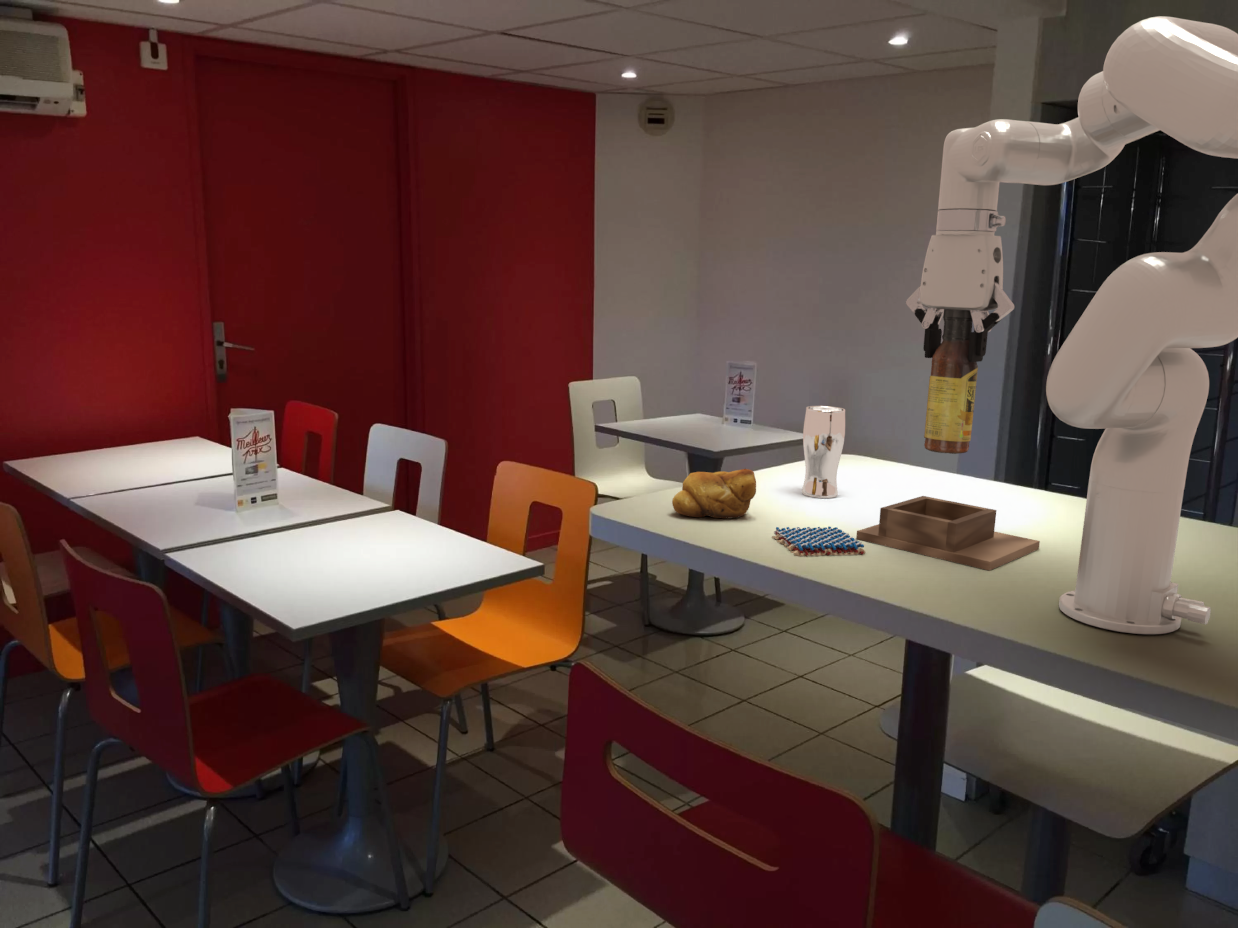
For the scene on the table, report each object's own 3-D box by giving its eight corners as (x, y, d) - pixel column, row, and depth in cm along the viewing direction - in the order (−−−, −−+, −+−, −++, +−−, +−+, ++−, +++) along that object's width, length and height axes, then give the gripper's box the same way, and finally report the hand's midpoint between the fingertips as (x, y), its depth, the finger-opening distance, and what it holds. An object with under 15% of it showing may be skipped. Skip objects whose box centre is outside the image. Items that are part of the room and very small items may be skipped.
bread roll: (676, 522, 153) (678, 470, 151) (664, 507, 162) (666, 458, 161) (759, 522, 155) (762, 470, 153) (742, 506, 164) (745, 458, 162)
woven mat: (837, 538, 148) (838, 524, 148) (867, 558, 138) (869, 544, 138) (769, 539, 146) (770, 525, 146) (795, 560, 136) (796, 545, 136)
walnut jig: (1038, 549, 144) (1042, 513, 143) (989, 570, 132) (993, 532, 131) (910, 521, 157) (913, 489, 156) (856, 538, 146) (859, 503, 145)
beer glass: (791, 491, 176) (796, 406, 173) (824, 488, 179) (830, 405, 176) (814, 500, 170) (821, 412, 167) (848, 497, 173) (855, 410, 170)
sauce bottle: (972, 457, 138) (988, 310, 134) (924, 453, 139) (939, 308, 135) (965, 448, 144) (981, 308, 140) (920, 445, 146) (934, 306, 142)
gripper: (1040, 226, 133) (1026, 363, 136) (920, 227, 144) (909, 353, 148) (1016, 223, 127) (1002, 366, 131) (894, 224, 139) (883, 355, 143)
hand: (953, 358), depth 139 cm, fingers closed on sauce bottle, 5 cm apart
